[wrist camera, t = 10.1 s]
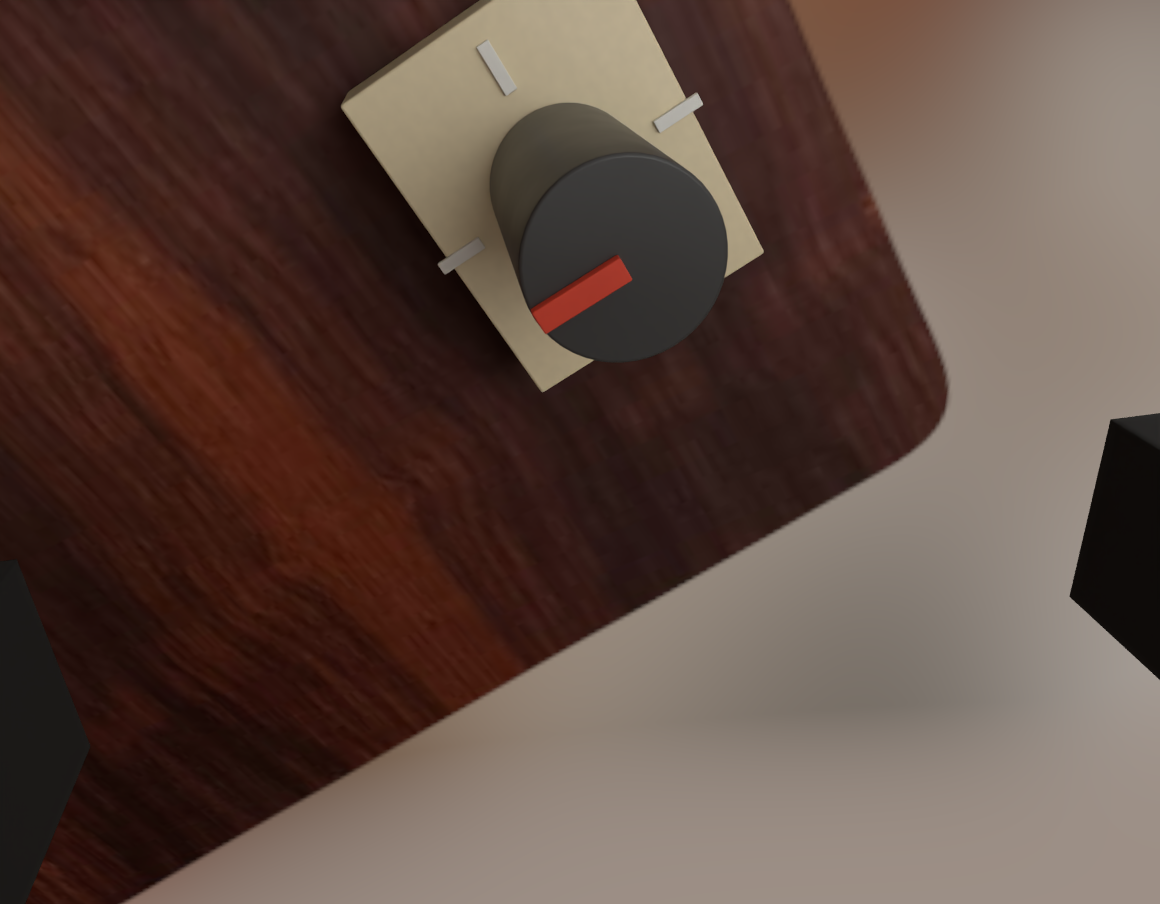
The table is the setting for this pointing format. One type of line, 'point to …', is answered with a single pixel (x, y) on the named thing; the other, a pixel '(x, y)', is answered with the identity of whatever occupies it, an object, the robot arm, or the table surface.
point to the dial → (606, 234)
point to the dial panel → (495, 104)
